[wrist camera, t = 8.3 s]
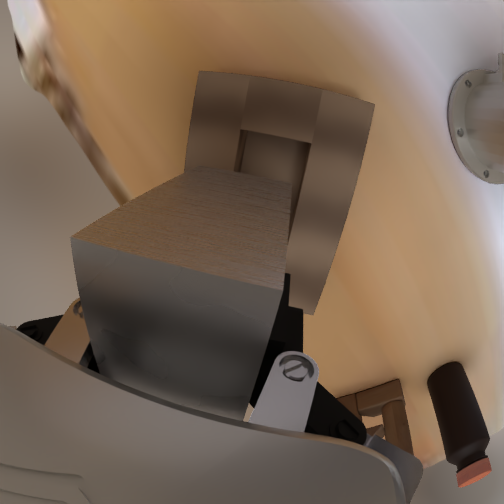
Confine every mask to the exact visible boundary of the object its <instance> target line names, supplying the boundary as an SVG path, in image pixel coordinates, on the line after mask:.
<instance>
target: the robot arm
mask: <svg viewBox="0 0 504 504" xmlns="http://www.w3.org/2000/svg"><path fill="white" fill-rule="evenodd" d="M498 65H499V68H498V70H497V71H496V73H495V72H493V71H489V70H486V69H477V70H473V71H469V72H467V73H465V74H464V75H463V76H462V77H460V78H459V79H458V81H457V82H456V84H455V86H454V87H453V90H452V93H451V96H450V101H449V110H448V119H449V127H450V133H451V137H452V141H453V143H454V146H455V149H456V151H457V153H458V155H459V157H460V159H461V160H462V162H463V163H464V165H465V166H466V167H467V169H468V170H469V171H470V172H471V173H473V174H474V175H475V176H476V177H478V178H480V179H481V180H483V181H486V182H488V183H492V184H504V54H503V53H499V54H498ZM457 131H458V133H457ZM290 277H291V274H289V273H285V276H284V287H283V293H282V296H281V300H280V303H279V307H278V310H277V314H276V317H275V321H274V324H273V327H272V331H271V334H270V337H269V341H268V344H267V347H266V351H265V354H264V357H263V360H262V363H261V367H260V370H259V373H258V376H257V379H256V382H255V385H254V389H253V392H252V395H251V398H250V401H249V403H250V404H251V406H252V407H253V408H254V410H253V413H252V415H251V417H250V419H249V421H248V422H244V421H240V420H235V419H231V418H227V417H222V416H218V415H215V414H211V413H207V412H203V411H200V410H196V409H193V408H190V407H186V406H183V405H180V404H177V403H174V402H170V401H167V400H164V399H162V398H159V397H156V396H153V395H150V394H147V393H145V392H142V391H139V390H137V389H134V388H132V387H129V386H127V385H124V384H122V383H119V382H117V381H115V380H112V379H110V378H108V377H105V376H103V375H101V374H100V372H99V369H98V366H97V362H96V359H95V356H94V353H93V349H92V346H91V342H90V338H89V335H88V331H87V327H86V323H85V319H84V315H83V310H82V306H81V301H80V298H78V299H76V300H75V301H74V302H73V303H72V304H71V305H70V306H69V308H68V309H67V311H66V312H65V314H64V315H59V316H55V317H49V318H44V319H39V320H33V321H29V322H25V323H23V324H22V325H20V326H19V327H18V328H16V326H7V325H4V324H2V323H0V504H410V502H411V500H412V497H413V495H414V493H415V491H416V489H417V487H418V485H419V483H420V480H421V478H422V475H423V466H422V463H421V462H420V460H419V459H418V458H416V457H415V456H413V455H411V454H409V453H408V452H406V451H404V450H402V449H400V448H398V447H397V446H395V445H393V444H391V443H389V442H388V441H386V440H384V439H382V438H381V437H379V436H377V435H375V434H374V435H373V436H371V435H369V434H367V430H366V428H365V426H364V424H363V423H362V422H361V420H360V419H358V418H357V417H356V416H355V415H354V414H353V413H352V412H351V411H349V410H348V409H347V408H346V407H345V406H344V405H343V404H342V403H340V402H339V401H338V400H337V399H336V398H335V397H334V396H333V395H332V394H331V393H329V392H328V391H327V390H326V389H325V388H324V387H323V386H322V385H321V384H320V383H319V382H317V380H318V375H319V368H318V366H317V364H316V362H315V361H314V360H313V359H312V358H311V357H309V356H308V355H306V354H304V353H303V309H301V308H296V307H291V306H289V293H290Z"/></svg>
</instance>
